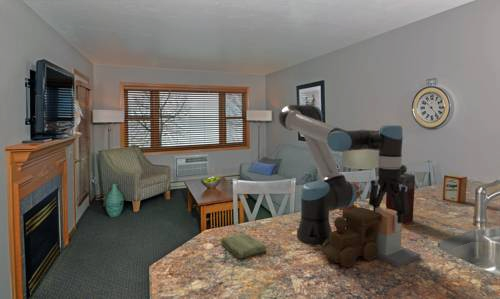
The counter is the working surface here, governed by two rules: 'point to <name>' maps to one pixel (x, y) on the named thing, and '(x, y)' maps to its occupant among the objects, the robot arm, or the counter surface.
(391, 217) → the terracotta brick
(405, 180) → the toy vending machine
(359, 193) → the orange lumpy rounded piece
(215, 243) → the counter surface
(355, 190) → the robot arm
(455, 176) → the baking soda box
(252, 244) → the washcloth
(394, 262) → the base plate
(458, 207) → the counter surface
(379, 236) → the sage brick
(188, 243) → the counter surface
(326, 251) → the wooden toy train
